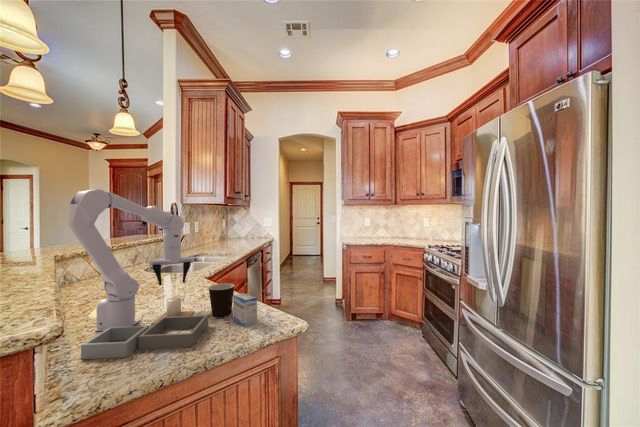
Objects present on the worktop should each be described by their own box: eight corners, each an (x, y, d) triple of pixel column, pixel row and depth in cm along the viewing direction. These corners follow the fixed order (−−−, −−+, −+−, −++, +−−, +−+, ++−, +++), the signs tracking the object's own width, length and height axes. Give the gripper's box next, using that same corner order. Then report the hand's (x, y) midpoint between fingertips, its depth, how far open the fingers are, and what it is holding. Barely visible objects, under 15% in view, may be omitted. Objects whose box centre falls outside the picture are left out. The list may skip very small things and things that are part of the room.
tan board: (151, 324, 88) (151, 323, 88) (165, 313, 98) (165, 312, 98) (183, 323, 89) (183, 322, 89) (194, 312, 99) (194, 311, 99)
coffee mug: (226, 320, 91) (226, 290, 91) (203, 318, 93) (203, 289, 93) (242, 308, 103) (242, 282, 103) (222, 306, 104) (222, 280, 104)
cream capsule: (164, 319, 90) (164, 301, 90) (169, 315, 95) (169, 297, 95) (178, 318, 91) (178, 301, 91) (182, 314, 95) (182, 297, 96)
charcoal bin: (138, 349, 71) (138, 336, 71) (163, 328, 85) (163, 316, 85) (191, 347, 73) (191, 334, 73) (207, 326, 86) (207, 315, 86)
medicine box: (232, 321, 91) (232, 295, 91) (244, 317, 94) (244, 292, 94) (245, 327, 85) (245, 300, 85) (257, 323, 88) (257, 297, 88)
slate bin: (81, 359, 67) (80, 345, 67) (110, 339, 77) (110, 327, 77) (126, 356, 68) (126, 343, 68) (149, 337, 78) (149, 325, 78)
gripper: (148, 249, 94) (148, 288, 94) (194, 247, 100) (194, 283, 100) (149, 247, 100) (150, 284, 100) (193, 245, 107) (193, 279, 107)
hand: (172, 283), depth 101 cm, fingers open, 7 cm apart
